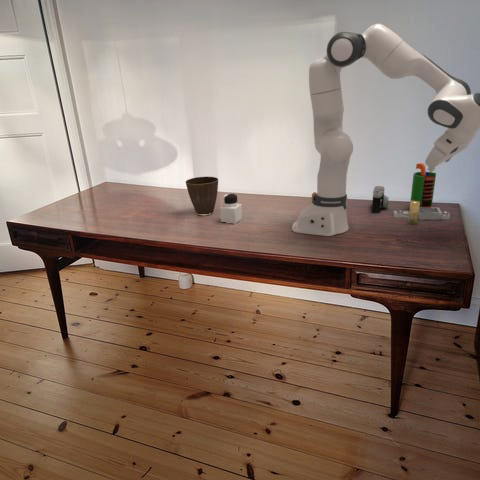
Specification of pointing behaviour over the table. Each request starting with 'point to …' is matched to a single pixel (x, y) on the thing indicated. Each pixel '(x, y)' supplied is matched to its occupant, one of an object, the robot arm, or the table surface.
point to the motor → (423, 186)
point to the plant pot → (203, 193)
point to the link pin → (414, 212)
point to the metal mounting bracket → (425, 214)
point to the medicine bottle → (231, 209)
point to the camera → (379, 199)
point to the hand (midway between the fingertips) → (438, 165)
